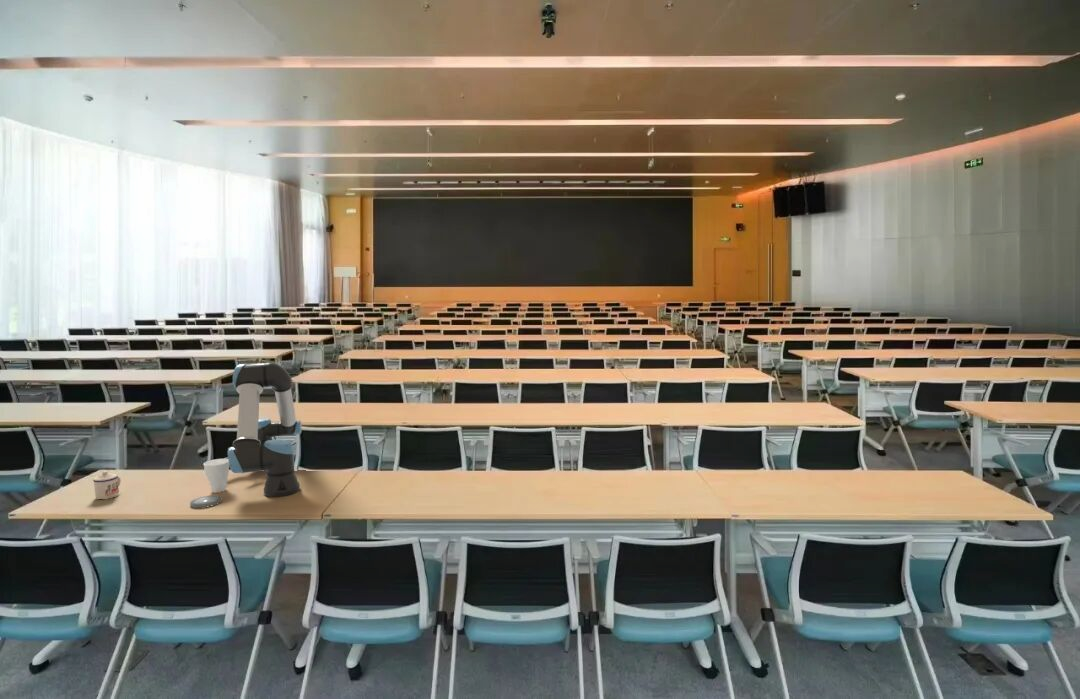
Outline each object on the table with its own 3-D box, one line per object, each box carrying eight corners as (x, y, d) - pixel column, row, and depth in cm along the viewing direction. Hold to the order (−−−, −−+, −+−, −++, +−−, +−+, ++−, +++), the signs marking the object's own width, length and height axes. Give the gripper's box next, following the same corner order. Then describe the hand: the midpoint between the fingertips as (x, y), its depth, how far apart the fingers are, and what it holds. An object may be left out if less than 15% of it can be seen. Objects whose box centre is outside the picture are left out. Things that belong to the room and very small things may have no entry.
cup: (214, 486, 289) (211, 458, 288) (236, 486, 289) (233, 458, 287) (201, 494, 279) (198, 465, 277) (224, 494, 279) (221, 465, 277)
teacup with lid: (108, 500, 274) (105, 475, 272) (89, 499, 275) (87, 474, 274) (129, 491, 285) (127, 466, 284) (112, 490, 287) (109, 466, 285)
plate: (228, 499, 272) (227, 497, 271) (204, 509, 260) (204, 506, 260) (207, 496, 276) (207, 494, 276) (183, 506, 265) (183, 503, 264)
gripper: (278, 461, 313) (255, 475, 292) (231, 461, 315) (205, 474, 294) (277, 447, 312) (254, 459, 291) (230, 446, 314) (204, 459, 293)
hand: (229, 467), depth 293 cm, fingers open, 13 cm apart
